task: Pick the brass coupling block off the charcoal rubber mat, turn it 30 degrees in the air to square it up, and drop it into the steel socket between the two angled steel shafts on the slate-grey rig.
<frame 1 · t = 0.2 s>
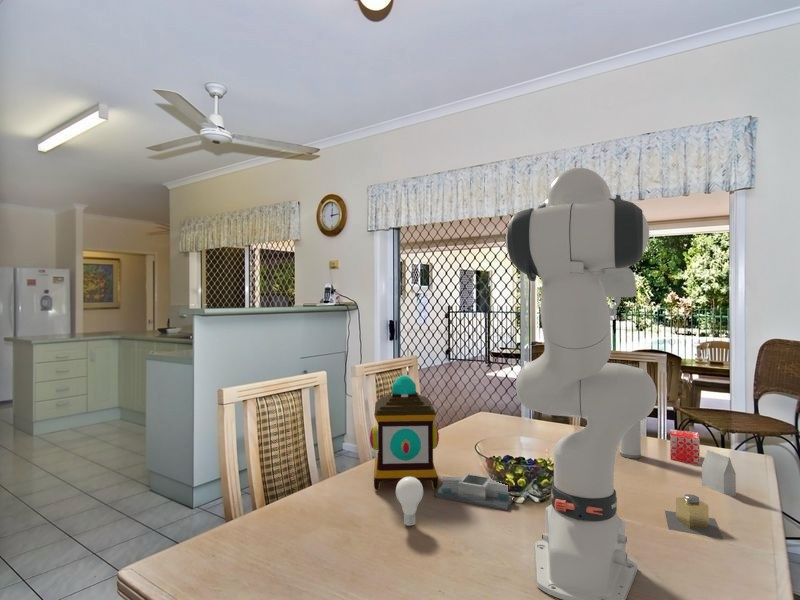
hand: (592, 315, 119), 47 cm above the table, fingers open, 8 cm apart
white house block: (718, 492, 124), on the table
rubber mat: (692, 527, 104), on the table
travel mug: (629, 456, 152), on the table
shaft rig: (475, 495, 122), on the table
decorative lantern: (404, 479, 134), on the table
coupling block: (692, 523, 104), point 1 cm above the table, touching rubber mat
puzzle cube: (684, 458, 150), on the table
lightbulb: (409, 526, 106), on the table
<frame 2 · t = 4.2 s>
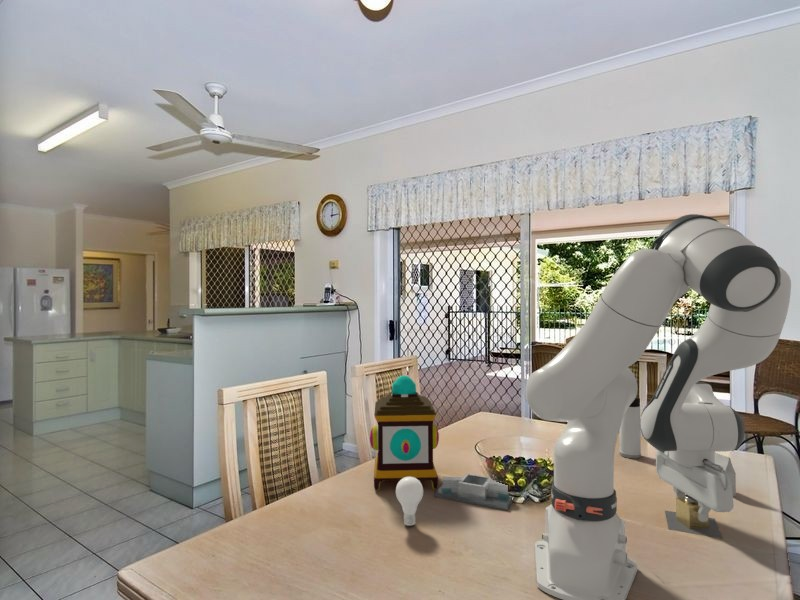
hand: (692, 514, 104), 3 cm above the table, fingers closed on coupling block, 4 cm apart
coupling block: (692, 523, 104), point 1 cm above the table, touching gripper, rubber mat
everything else where it was.
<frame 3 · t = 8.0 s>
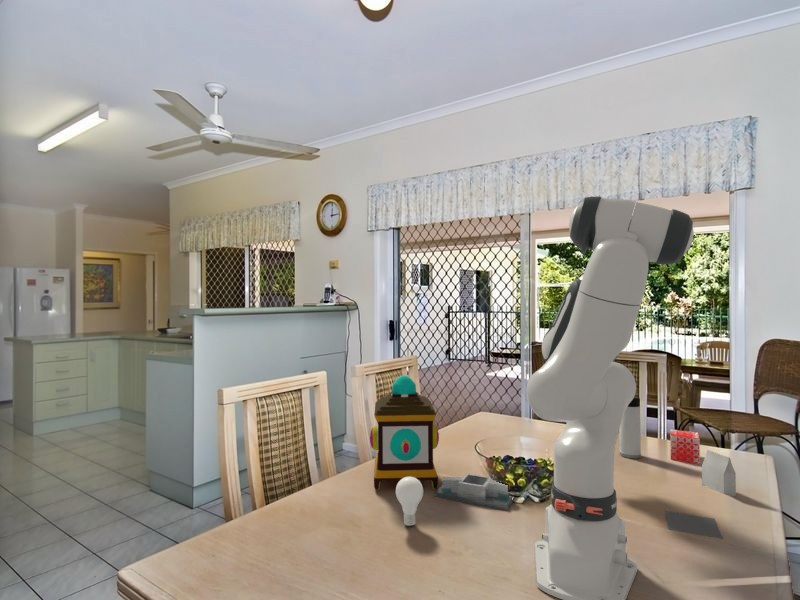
hand: (583, 423, 128), 17 cm above the table, fingers closed on coupling block, 4 cm apart
coupling block: (583, 431, 128), point 15 cm above the table, touching gripper
everything else where it was.
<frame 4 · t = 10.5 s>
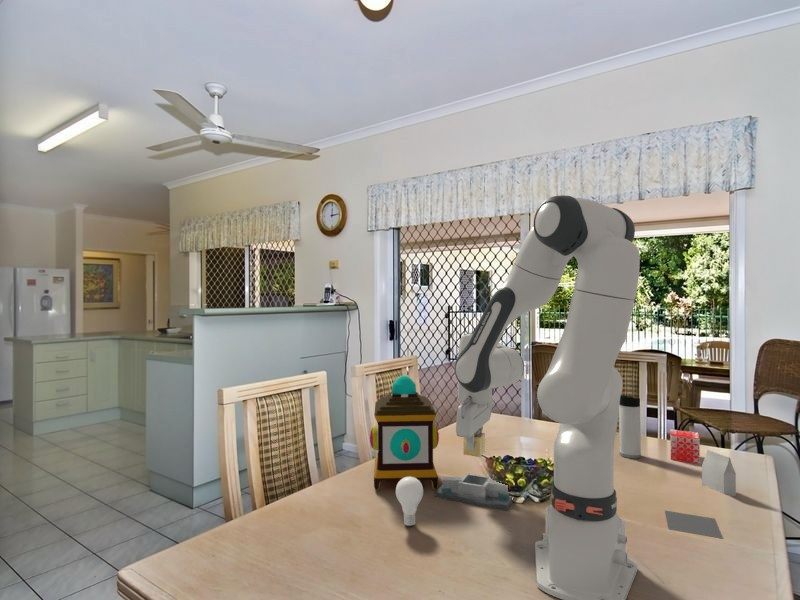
hand: (474, 445, 122), 13 cm above the table, fingers closed on coupling block, 4 cm apart
coupling block: (474, 453, 122), point 11 cm above the table, touching gripper
everything else where it was.
when the fingers open (5 cm above the table, at t = 12.3 s): coupling block drops 1 cm, resting on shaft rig.
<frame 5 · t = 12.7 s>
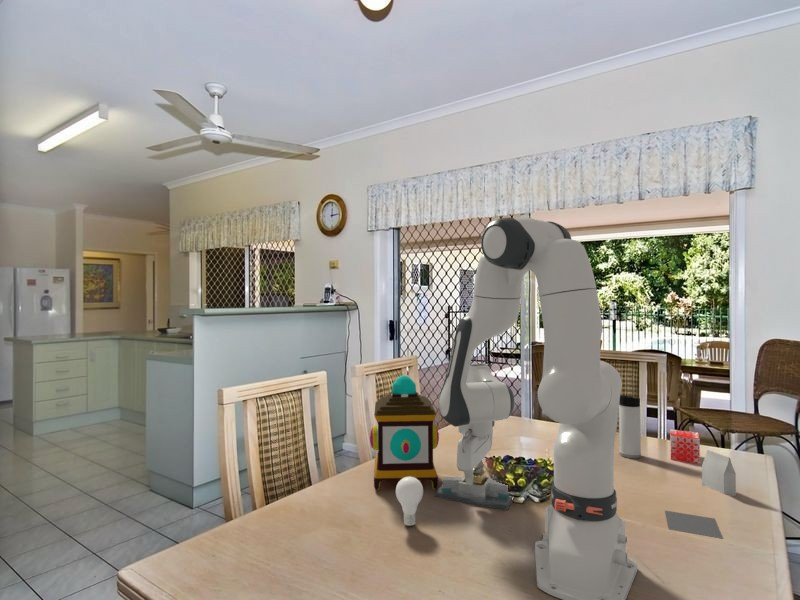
hand: (475, 477, 122), 5 cm above the table, fingers open, 8 cm apart
coupling block: (475, 491, 122), point 1 cm above the table, touching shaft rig
everything else where it was.
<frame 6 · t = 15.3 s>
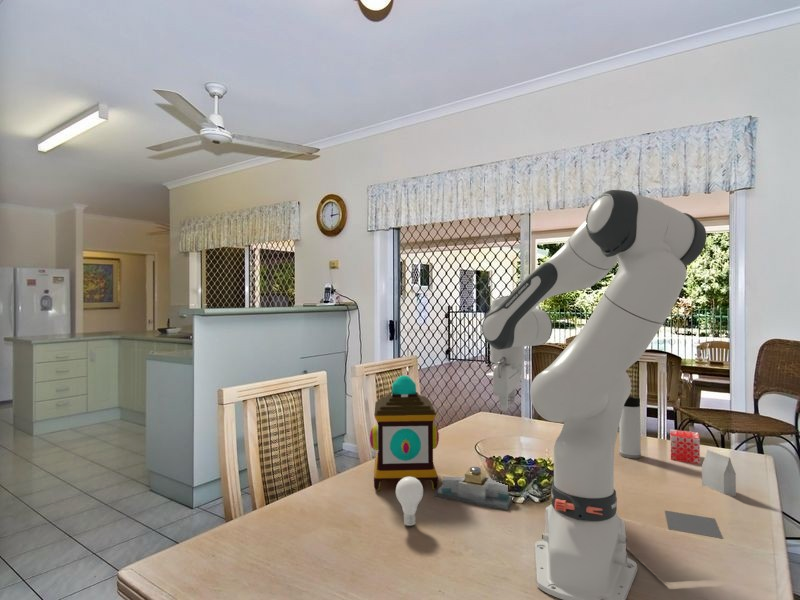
hand: (507, 407, 125), 23 cm above the table, fingers open, 8 cm apart
nothing on the table moved.
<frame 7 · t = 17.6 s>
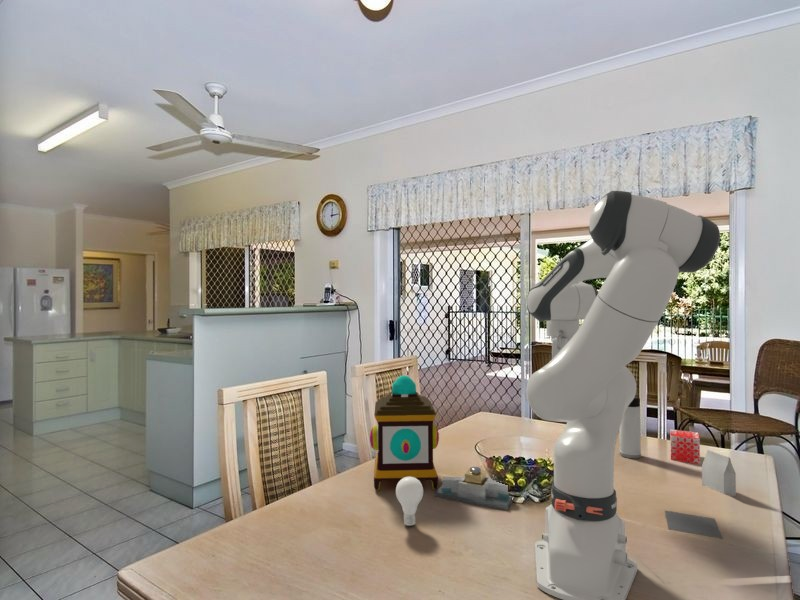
hand: (563, 378, 131), 29 cm above the table, fingers open, 8 cm apart
nothing on the table moved.
at the end: coupling block 0.1 cm off-centre on the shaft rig, point 1.2 cm above the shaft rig's base; coupling block tilted 0°; the gripper is holding nothing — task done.
